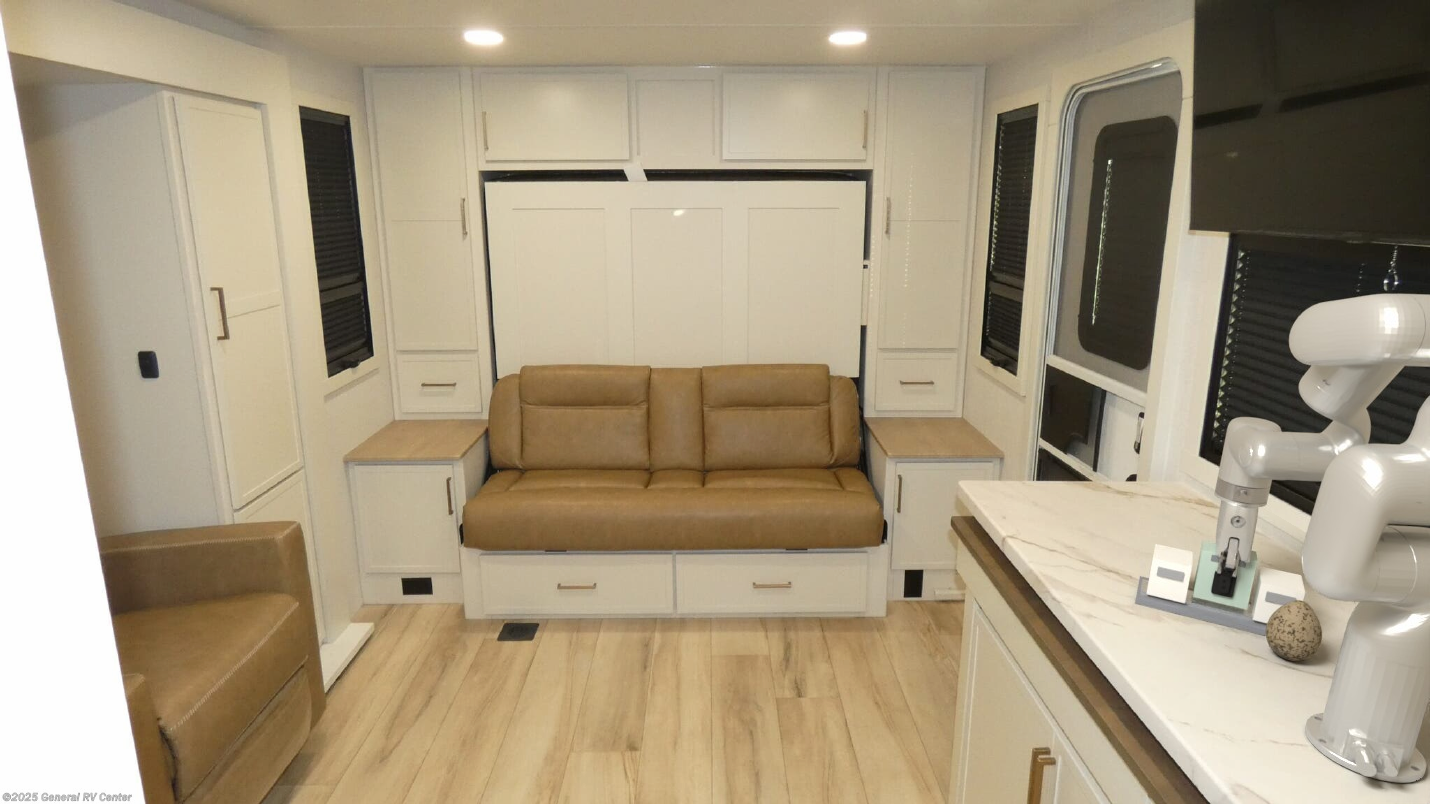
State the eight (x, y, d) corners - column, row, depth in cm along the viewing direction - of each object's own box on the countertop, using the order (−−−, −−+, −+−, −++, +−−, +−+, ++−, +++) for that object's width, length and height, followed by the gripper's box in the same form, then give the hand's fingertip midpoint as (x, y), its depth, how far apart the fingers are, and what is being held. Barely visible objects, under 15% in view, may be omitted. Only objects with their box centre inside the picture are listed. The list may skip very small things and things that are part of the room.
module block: (1246, 610, 136) (1257, 562, 134) (1192, 597, 140) (1202, 550, 138) (1245, 598, 140) (1256, 551, 138) (1193, 586, 144) (1202, 540, 142)
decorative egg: (1279, 641, 132) (1292, 586, 129) (1325, 665, 126) (1340, 607, 123) (1250, 650, 129) (1263, 594, 126) (1296, 675, 123) (1311, 616, 120)
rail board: (1305, 646, 131) (1317, 598, 128) (1134, 603, 143) (1142, 559, 141) (1300, 619, 139) (1311, 574, 137) (1139, 580, 151) (1146, 539, 149)
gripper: (1271, 512, 126) (1248, 616, 131) (1265, 480, 140) (1245, 575, 145) (1216, 501, 130) (1195, 603, 135) (1215, 472, 144) (1197, 565, 149)
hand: (1221, 587), depth 140 cm, fingers closed on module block, 4 cm apart
